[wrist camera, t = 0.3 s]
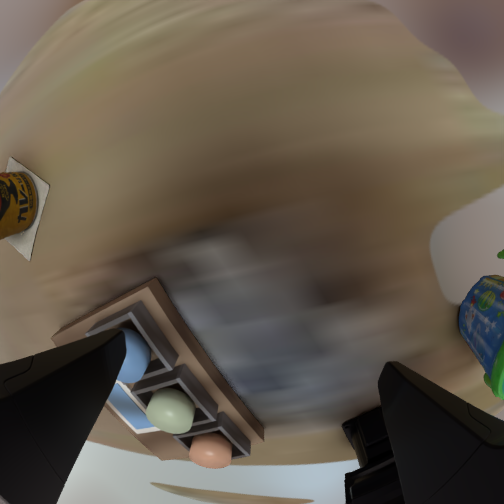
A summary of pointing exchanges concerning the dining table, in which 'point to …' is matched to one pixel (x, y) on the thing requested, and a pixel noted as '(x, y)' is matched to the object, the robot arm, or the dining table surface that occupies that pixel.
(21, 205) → the condiment
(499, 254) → the snack cup
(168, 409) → the sage button
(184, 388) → the console
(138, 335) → the slate blue button
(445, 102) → the dining table surface
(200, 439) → the terracotta button
